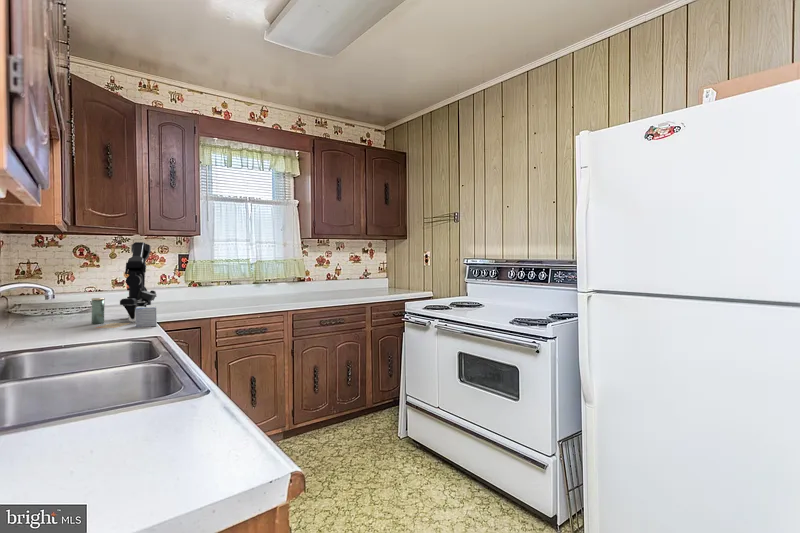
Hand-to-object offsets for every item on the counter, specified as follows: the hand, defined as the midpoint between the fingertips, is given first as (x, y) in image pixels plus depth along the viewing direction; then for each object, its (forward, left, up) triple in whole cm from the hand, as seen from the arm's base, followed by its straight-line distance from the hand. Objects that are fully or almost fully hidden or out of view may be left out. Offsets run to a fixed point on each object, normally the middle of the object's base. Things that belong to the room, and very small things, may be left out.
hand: (136, 317), depth 207 cm
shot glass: (0, 0, -2) cm, 2 cm away
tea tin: (+8, -13, -2) cm, 15 cm away
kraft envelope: (+15, -3, -2) cm, 15 cm away
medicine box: (+17, +12, -2) cm, 21 cm away
